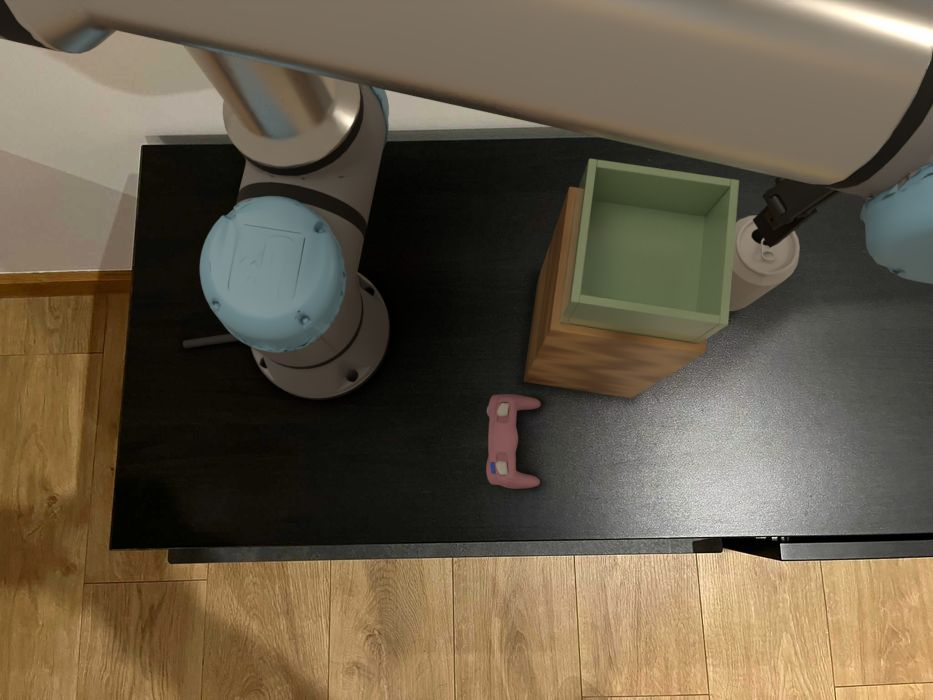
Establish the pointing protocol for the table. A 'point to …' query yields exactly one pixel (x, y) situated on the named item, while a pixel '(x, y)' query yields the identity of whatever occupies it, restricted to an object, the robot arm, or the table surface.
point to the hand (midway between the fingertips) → (835, 197)
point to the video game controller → (507, 441)
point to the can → (759, 263)
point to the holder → (650, 252)
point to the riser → (592, 338)
